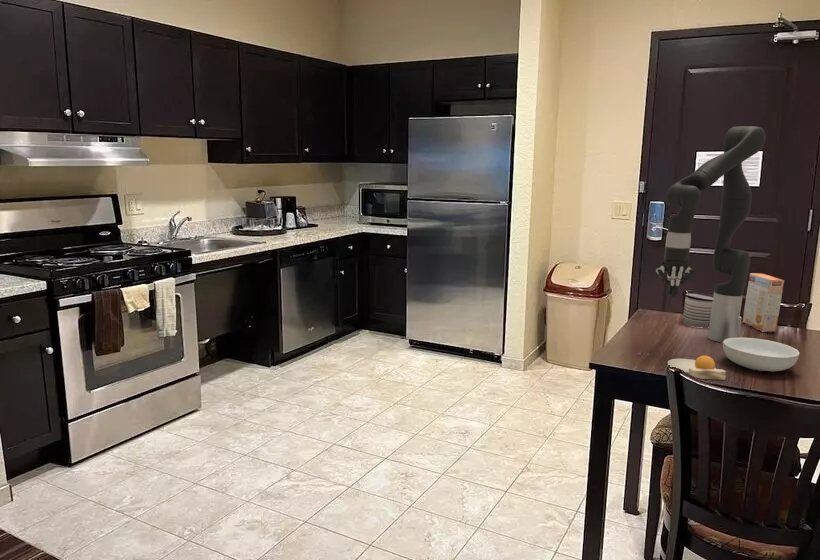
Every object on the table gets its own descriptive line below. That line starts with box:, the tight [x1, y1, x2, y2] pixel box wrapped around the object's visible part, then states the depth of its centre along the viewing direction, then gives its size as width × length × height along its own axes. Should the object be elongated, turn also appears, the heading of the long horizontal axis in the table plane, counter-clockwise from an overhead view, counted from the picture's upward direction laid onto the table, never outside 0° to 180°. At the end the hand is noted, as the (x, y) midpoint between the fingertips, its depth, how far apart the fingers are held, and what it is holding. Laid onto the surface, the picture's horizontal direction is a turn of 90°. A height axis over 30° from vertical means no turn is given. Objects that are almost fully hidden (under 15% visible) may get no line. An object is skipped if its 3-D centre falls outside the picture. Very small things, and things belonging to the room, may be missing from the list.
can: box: [682, 293, 713, 329], centre depth 237 cm, size 11×11×12 cm
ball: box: [695, 355, 716, 369], centre depth 182 cm, size 6×6×6 cm
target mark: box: [667, 358, 717, 374], centre depth 188 cm, size 14×14×1 cm
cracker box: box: [741, 272, 785, 332], centre depth 234 cm, size 14×6×21 cm, turn 179°
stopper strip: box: [688, 368, 727, 381], centre depth 178 cm, size 10×2×2 cm, turn 89°
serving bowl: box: [722, 337, 800, 372], centre depth 189 cm, size 21×21×7 cm
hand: (672, 296), depth 203 cm, fingers closed
